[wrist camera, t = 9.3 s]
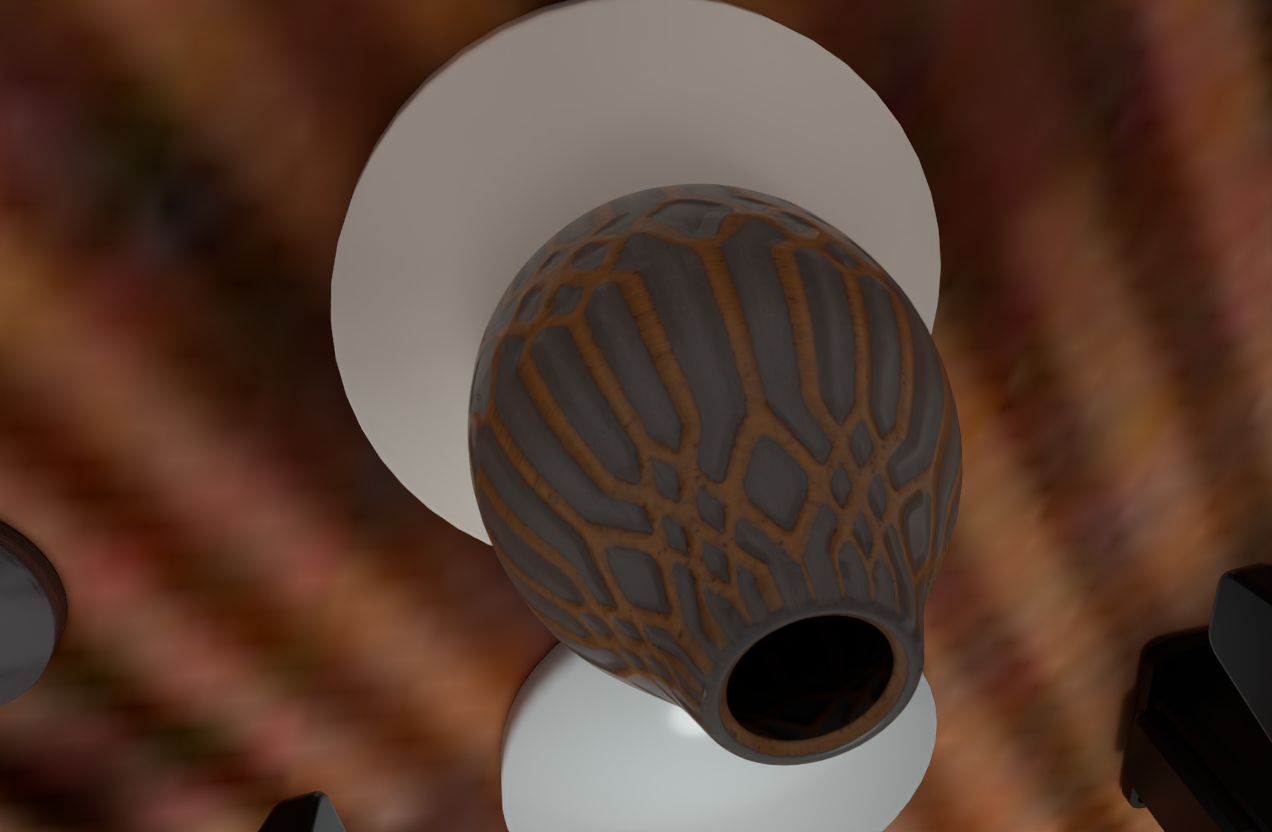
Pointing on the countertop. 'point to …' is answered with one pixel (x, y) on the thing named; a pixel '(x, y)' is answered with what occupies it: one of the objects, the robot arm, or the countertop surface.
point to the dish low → (587, 189)
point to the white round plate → (685, 765)
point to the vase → (721, 464)
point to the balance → (26, 613)
